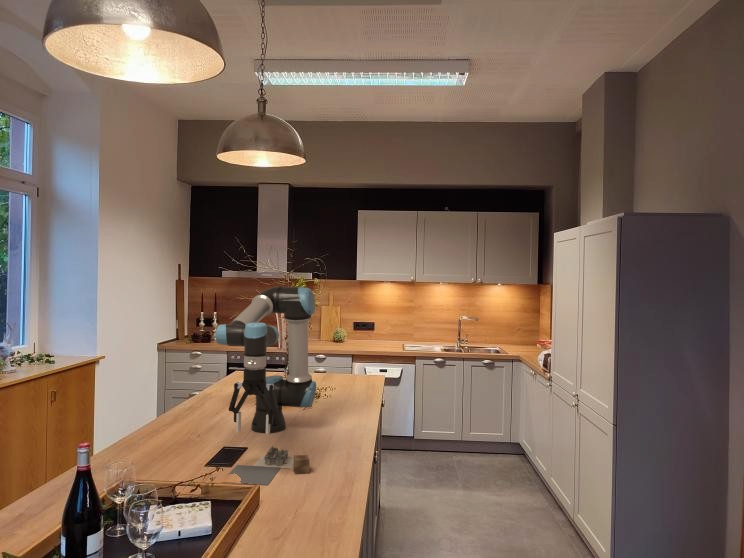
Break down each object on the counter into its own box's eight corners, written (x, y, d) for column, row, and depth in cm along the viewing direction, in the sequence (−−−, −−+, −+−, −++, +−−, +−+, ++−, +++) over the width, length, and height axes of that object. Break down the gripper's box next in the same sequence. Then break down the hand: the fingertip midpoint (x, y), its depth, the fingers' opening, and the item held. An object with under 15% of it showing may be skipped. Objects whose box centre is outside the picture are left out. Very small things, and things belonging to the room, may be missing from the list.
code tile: (253, 466, 190) (253, 465, 190) (263, 455, 202) (263, 454, 202) (291, 468, 189) (291, 468, 189) (299, 457, 201) (299, 456, 201)
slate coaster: (220, 482, 175) (220, 481, 175) (237, 465, 191) (237, 464, 191) (267, 485, 173) (267, 484, 173) (280, 467, 189) (280, 467, 189)
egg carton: (271, 455, 201) (272, 445, 201) (290, 457, 200) (291, 446, 200) (261, 465, 191) (262, 453, 191) (281, 466, 190) (282, 455, 190)
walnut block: (294, 474, 184) (295, 460, 184) (293, 469, 188) (293, 455, 188) (309, 473, 185) (309, 459, 185) (307, 468, 190) (307, 454, 190)
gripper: (219, 368, 179) (217, 433, 179) (283, 371, 177) (282, 437, 177) (227, 364, 187) (225, 427, 187) (289, 367, 185) (287, 431, 185)
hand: (253, 432), depth 182 cm, fingers open, 10 cm apart
